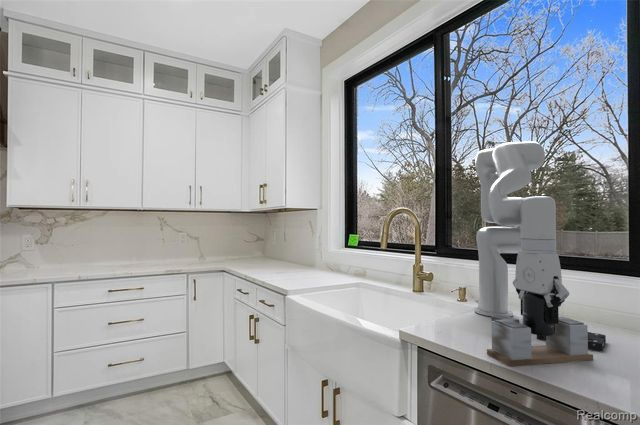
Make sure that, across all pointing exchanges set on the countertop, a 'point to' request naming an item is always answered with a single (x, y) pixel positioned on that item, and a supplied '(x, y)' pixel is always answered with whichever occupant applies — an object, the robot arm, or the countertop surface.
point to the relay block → (500, 317)
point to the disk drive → (590, 341)
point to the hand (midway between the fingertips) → (538, 318)
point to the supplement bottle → (536, 314)
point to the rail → (561, 347)
